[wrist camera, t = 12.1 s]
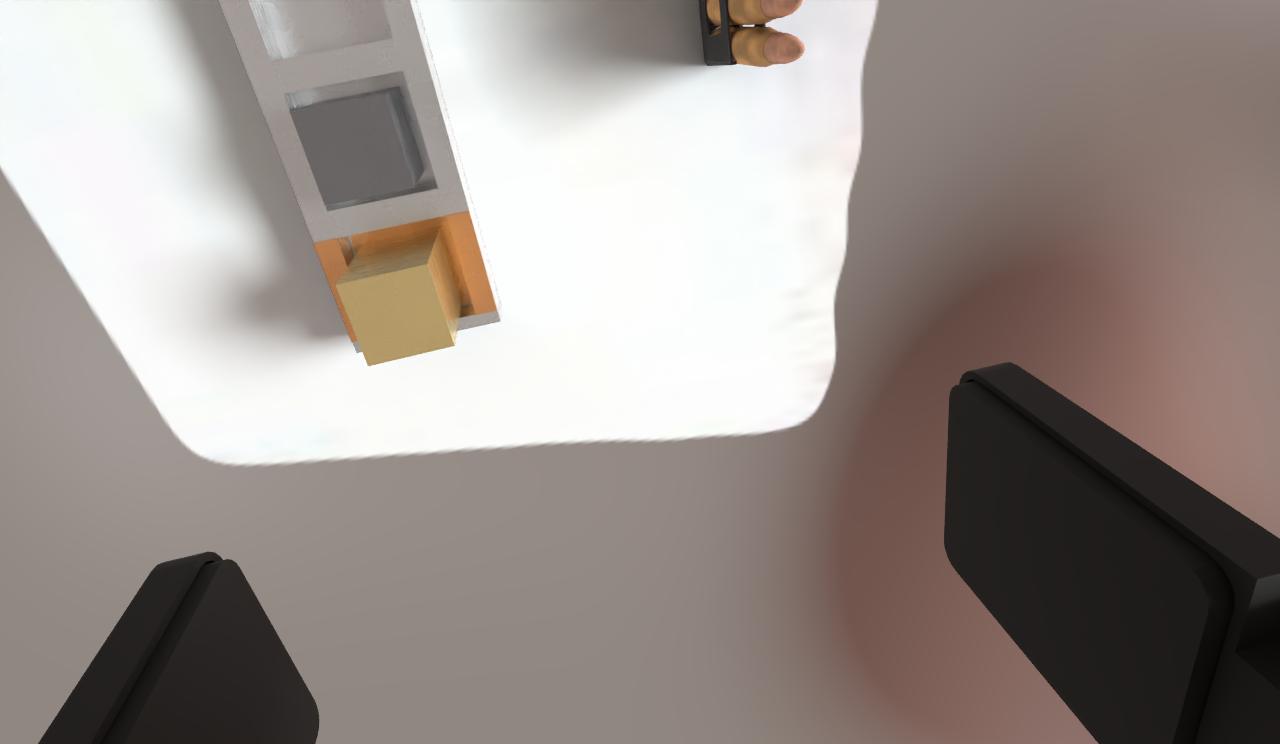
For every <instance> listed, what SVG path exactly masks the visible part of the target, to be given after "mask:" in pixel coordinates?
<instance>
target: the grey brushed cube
mask: <svg viewBox="0 0 1280 744" xmlns="http://www.w3.org/2000/svg"><path fill="white" fill-rule="evenodd" d="M290 114H291V117H292V120H293V122H294V125H295V128H296V130H297V133H298V136H299V138H300V141H301V144H302V146H303V149H304V152H305V154H306V157H307V160H308V162H309V165H310V168H311V170H312V173H313V176H314V178H315V181H316V184H317V186H318V189H319V192H320V194H321V197H322V200H323V202H324V205H325V206H327V205H331V204H336V203H341V202H346V201H351V200H356V199H361V198H366V197H371V196H375V195H380V194H385V193H390V192H395V191H400V190H405V189H410V188H414V187H415V186H416V184H417V182H418V181H419V179H420V177H421V176H422V174H423V172H424V167H423V164H422V161H421V157H420V154H419V151H418V148H417V144H416V141H415V138H414V134H413V131H412V128H411V124H410V121H409V118H408V115H407V111H406V108H405V105H404V101H403V98H402V95H401V91H400V88H399V86H397V87H392V88H387V89H382V90H377V91H371V92H366V93H361V94H356V95H351V96H346V97H340V98H335V99H330V100H325V101H320V102H315V103H312V104H309V105H307V106H304V107H301V108H299V109H296V110H294V111H291V112H290Z"/></svg>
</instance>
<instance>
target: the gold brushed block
mask: <svg viewBox="0 0 1280 744" xmlns="http://www.w3.org/2000/svg"><path fill="white" fill-rule="evenodd" d="M336 288H337V290H338V293H339V295H340V298H341V300H342V303H343V305H344V308H345V310H346V312H347V315H348V317H349V320H350V322H351V325H352V327H353V330H354V332H355V335H356V337H357V340H358V342H359V345H360V347H361V350H362V352H363V354H364V357H365V359H366V362H367V364H368V366H371V365H375V364H379V363H384V362H388V361H392V360H396V359H401V358H405V357H409V356H413V355H418V354H422V353H426V352H430V351H435V350H439V349H443V348H447V347H452V346H455V340H456V334H457V328H458V322H459V316H460V310H461V305H462V299H463V296H462V293H461V290H460V287H459V284H458V281H457V278H456V275H455V271H454V268H453V265H452V262H451V259H450V256H449V253H448V249H447V246H446V243H445V240H444V237H443V234H442V231H441V228H440V226H439V227H435V228H430V229H426V230H421V231H417V232H412V233H408V234H403V235H399V236H394V237H390V238H385V239H381V240H377V241H372V242H368V243H363V245H362V246H361V248H360V249H359V251H358V252H357V254H356V255H355V257H354V258H353V260H352V261H351V262H350V264H349V265H348V267H347V268H346V270H345V271H344V273H343V274H342V276H341V277H340V279H339V280H338V282H337V283H336Z"/></svg>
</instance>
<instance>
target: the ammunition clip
mask: <svg viewBox="0 0 1280 744" xmlns="http://www.w3.org/2000/svg"><path fill="white" fill-rule="evenodd" d="M802 1H803V0H699V9H700V19H701V29H702V39H703V49H704V59H705V63H706V64H707V66H713V65H735V64H743V65H750V66H758V67H767V66H770V65H773V64H786V63H790V62H793V61H795V60H797V59H798V58H800V57H801V56H802V55H803V53H804V50H805V47H804V45H803V43H802V42H801V41H800V40H799V39H798V38H797V37H795V36H793V35H791V34H788V33H782V32H778V31H776V30H775V29H772V28H770V27H766V26H765V23H767V22H770V21H771V20H773V19H776V18H782V17H785V16H787V15H790V14H792V13H793V12H795V11H796V10H797V9H798V8H799V7H800V6H801V4H802ZM752 24H755V26H754V27H743V26H742V25H752Z"/></svg>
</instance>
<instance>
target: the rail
mask: <svg viewBox="0 0 1280 744" xmlns="http://www.w3.org/2000/svg"><path fill="white" fill-rule="evenodd" d="M219 3H220V5H221V8H222V10H223V13H224V15H225V18H226V20H227V23H228V26H229V28H230V31H231V33H232V36H233V38H234V41H235V43H236V46H237V49H238V51H239V54H240V56H241V59H242V61H243V64H244V66H245V69H246V72H247V74H248V77H249V79H250V82H251V84H252V87H253V89H254V92H255V94H256V97H257V100H258V102H259V105H260V107H261V110H262V112H263V115H264V117H265V120H266V123H267V125H268V128H269V130H270V133H271V135H272V138H273V140H274V143H275V146H276V148H277V151H278V153H279V156H280V158H281V161H282V163H283V166H284V168H285V171H286V174H287V176H288V179H289V181H290V184H291V186H292V189H293V191H294V194H295V197H296V199H297V202H298V204H299V207H300V209H301V212H302V214H303V217H304V220H305V222H306V225H307V227H308V230H309V232H310V235H311V237H312V240H313V242H314V243H313V244H314V247H315V249H316V252H317V254H318V257H319V260H320V262H321V265H322V267H323V270H324V272H325V275H326V277H327V280H328V282H329V285H330V288H331V290H332V293H333V295H334V298H335V300H336V303H337V305H338V308H339V310H340V313H341V316H342V318H343V321H344V323H345V326H346V328H347V331H348V333H349V336H350V339H351V341H352V342H353V345H354V347H355V350H356V352H357V353H359V352H362V350H361V347H360V345H359V342H358V340H357V337H356V335H355V332H354V330H353V327H352V325H351V322H350V320H349V317H348V315H347V312H346V310H345V308H344V305H343V303H342V300H341V298H340V295H339V293H338V290H337V288H336V283H337V282H338V280H339V279H340V277H341V276H342V274H343V273H344V271H345V270H346V268H347V267H348V265H349V264H350V262H351V261H352V260H353V258H354V257H355V255H356V254H357V252H358V251H359V249H360V248H361V246H362V245H363V243H368V242H372V241H377V240H381V239H385V238H390V237H394V236H399V235H403V234H408V233H412V232H417V231H421V230H426V229H430V228H435V227H439V226H440V228H441V231H442V234H443V237H444V240H445V243H446V246H447V249H448V253H449V256H450V259H451V262H452V265H453V268H454V271H455V275H456V278H457V281H458V284H459V287H460V290H461V293H462V296H463V299H462V305H461V310H460V316H459V322H458V328H457V331H459V330H463V329H468V328H472V327H477V326H481V325H486V324H490V323H495V322H499V321H500V319H501V301H500V298H499V294H498V290H497V287H496V283H495V280H494V276H493V273H492V269H491V265H490V262H489V258H488V255H487V251H486V247H485V244H484V240H483V237H482V233H481V229H480V226H479V222H478V219H477V215H476V211H475V208H474V204H473V201H472V197H471V193H470V190H469V186H468V183H467V179H466V175H465V172H464V168H463V165H462V161H461V157H460V154H459V150H458V147H457V143H456V139H455V136H454V132H453V129H452V125H451V121H450V118H449V114H448V111H447V107H446V103H445V100H444V96H443V93H442V89H441V85H440V82H439V78H438V75H437V71H436V67H435V64H434V60H433V57H432V53H431V49H430V46H429V42H428V39H427V35H426V31H425V28H424V24H423V21H422V17H421V13H420V10H419V6H418V3H417V0H219ZM397 86H399V88H400V91H401V95H402V98H403V101H404V105H405V108H406V111H407V115H408V118H409V121H410V124H411V128H412V131H413V134H414V138H415V141H416V144H417V148H418V151H419V154H420V157H421V161H422V164H423V167H424V172H423V174H422V176H421V177H420V179H419V181H418V182H417V184H416V186H415V187H414V188H410V189H405V190H400V191H395V192H390V193H385V194H380V195H375V196H371V197H366V198H361V199H356V200H351V201H346V202H341V203H336V204H331V205H327V206H325V205H324V202H323V200H322V197H321V194H320V192H319V189H318V186H317V184H316V181H315V178H314V176H313V173H312V170H311V168H310V165H309V162H308V160H307V157H306V154H305V152H304V149H303V146H302V144H301V141H300V138H299V136H298V133H297V130H296V128H295V125H294V122H293V120H292V117H291V114H290V112H291V111H294V110H296V109H299V108H301V107H304V106H307V105H309V104H312V103H315V102H320V101H325V100H330V99H335V98H340V97H346V96H351V95H356V94H361V93H366V92H371V91H377V90H382V89H387V88H392V87H397Z"/></svg>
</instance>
